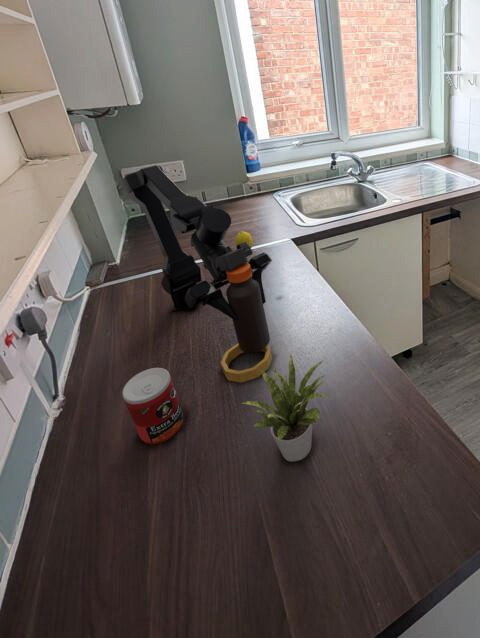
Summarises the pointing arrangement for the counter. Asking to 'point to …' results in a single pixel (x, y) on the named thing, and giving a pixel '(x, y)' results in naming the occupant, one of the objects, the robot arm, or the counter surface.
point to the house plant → (290, 412)
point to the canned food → (153, 405)
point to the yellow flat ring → (247, 373)
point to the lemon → (244, 238)
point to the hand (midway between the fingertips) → (250, 311)
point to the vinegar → (247, 309)
